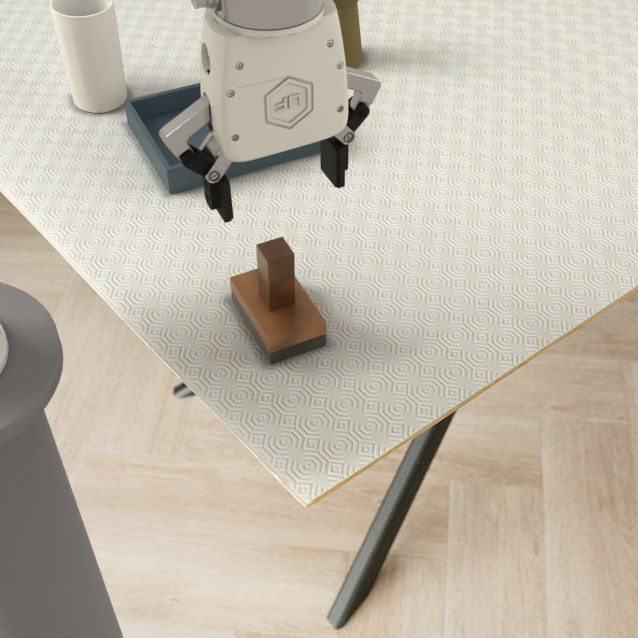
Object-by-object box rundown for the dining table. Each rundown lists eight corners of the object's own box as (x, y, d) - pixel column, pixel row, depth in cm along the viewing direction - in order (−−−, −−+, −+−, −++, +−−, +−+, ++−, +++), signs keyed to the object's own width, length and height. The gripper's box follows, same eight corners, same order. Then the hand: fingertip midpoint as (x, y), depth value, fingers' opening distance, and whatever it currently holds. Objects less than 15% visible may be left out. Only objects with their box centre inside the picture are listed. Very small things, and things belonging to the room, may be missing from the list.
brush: (270, 365, 80) (266, 292, 74) (231, 300, 86) (225, 226, 79) (326, 345, 82) (327, 272, 76) (284, 283, 88) (282, 209, 81)
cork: (369, 66, 114) (374, -19, 106) (324, 74, 113) (325, -12, 105) (353, 42, 118) (356, -41, 110) (308, 49, 117) (308, -35, 108)
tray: (170, 194, 96) (166, 170, 94) (127, 124, 104) (123, 100, 102) (332, 149, 102) (333, 126, 100) (280, 86, 111) (280, 63, 108)
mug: (138, 105, 107) (123, 8, 98) (83, 121, 104) (62, 23, 96) (106, 65, 113) (88, -30, 104) (53, 79, 110) (31, -17, 101)
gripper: (161, 45, 55) (193, 255, 68) (409, -13, 61) (395, 191, 73) (123, -9, 60) (160, 198, 72) (357, -58, 65) (353, 142, 78)
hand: (278, 194), depth 73 cm, fingers open, 9 cm apart
